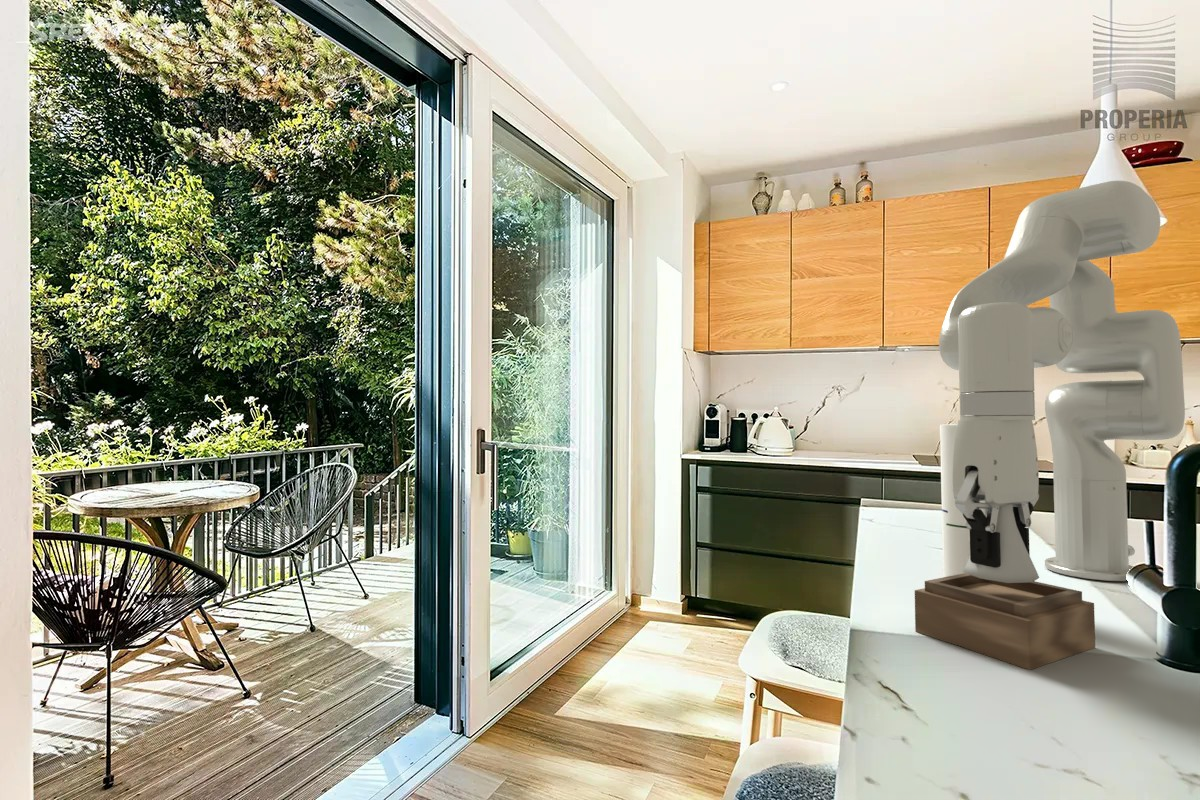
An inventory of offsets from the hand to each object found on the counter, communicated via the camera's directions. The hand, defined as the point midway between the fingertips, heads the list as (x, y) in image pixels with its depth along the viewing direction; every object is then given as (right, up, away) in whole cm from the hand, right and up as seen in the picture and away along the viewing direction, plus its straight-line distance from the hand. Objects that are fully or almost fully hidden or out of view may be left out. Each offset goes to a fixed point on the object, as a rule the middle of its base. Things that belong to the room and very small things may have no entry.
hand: (1000, 560), depth 73 cm
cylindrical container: (+6, -10, +15) cm, 19 cm away
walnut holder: (0, -9, 0) cm, 9 cm away
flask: (0, -2, 0) cm, 2 cm away
